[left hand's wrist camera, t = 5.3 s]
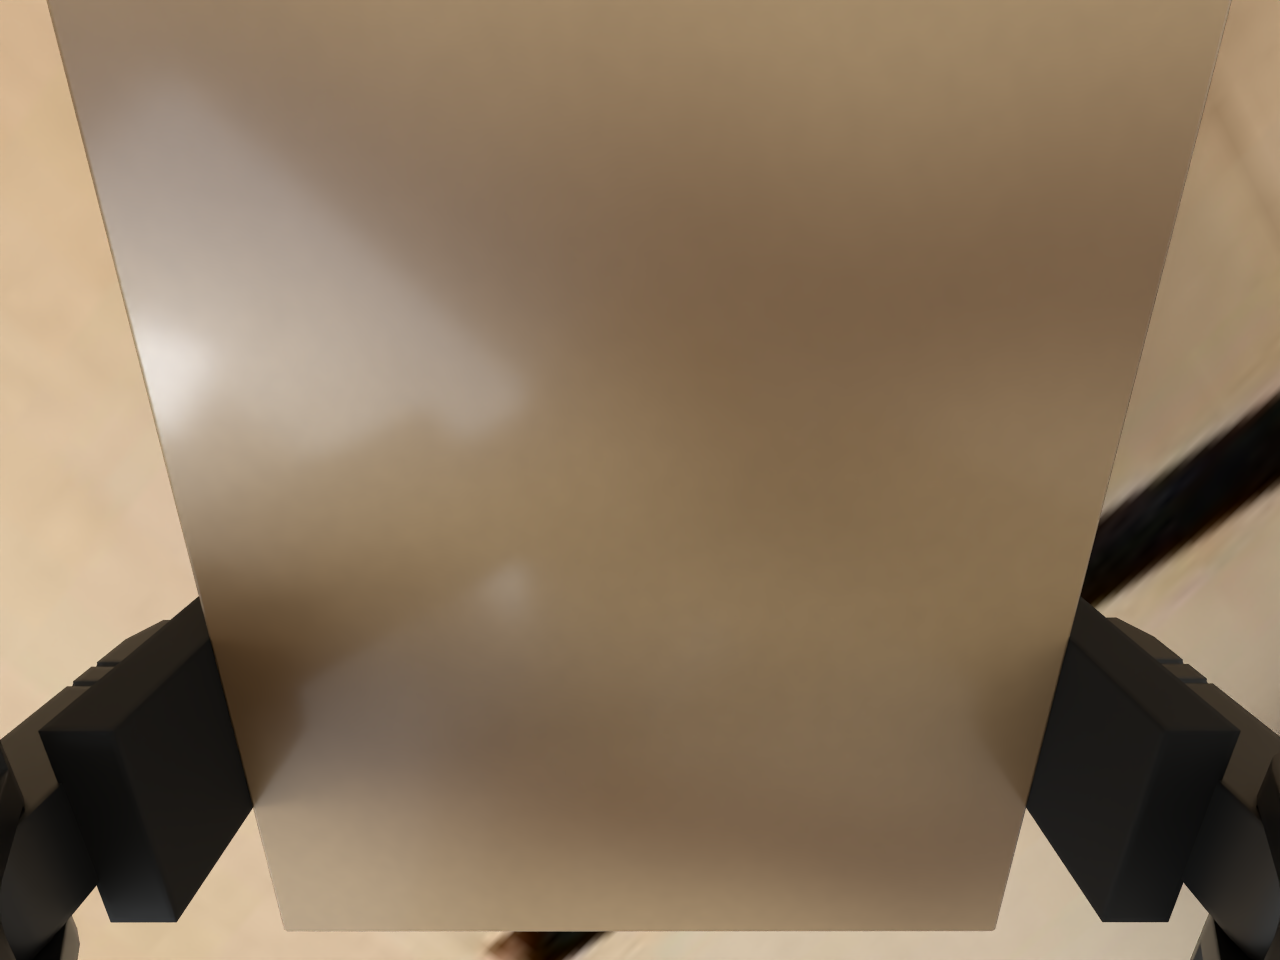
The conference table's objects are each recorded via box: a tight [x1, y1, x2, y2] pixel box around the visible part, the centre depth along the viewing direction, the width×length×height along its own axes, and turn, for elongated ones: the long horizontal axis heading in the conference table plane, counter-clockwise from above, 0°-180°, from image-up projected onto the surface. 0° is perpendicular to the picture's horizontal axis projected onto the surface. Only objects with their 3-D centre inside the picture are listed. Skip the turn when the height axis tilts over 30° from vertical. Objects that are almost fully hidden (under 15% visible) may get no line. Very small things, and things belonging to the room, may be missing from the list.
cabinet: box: [47, 0, 1232, 931], centre depth 11 cm, size 20×11×10 cm, turn 0°
